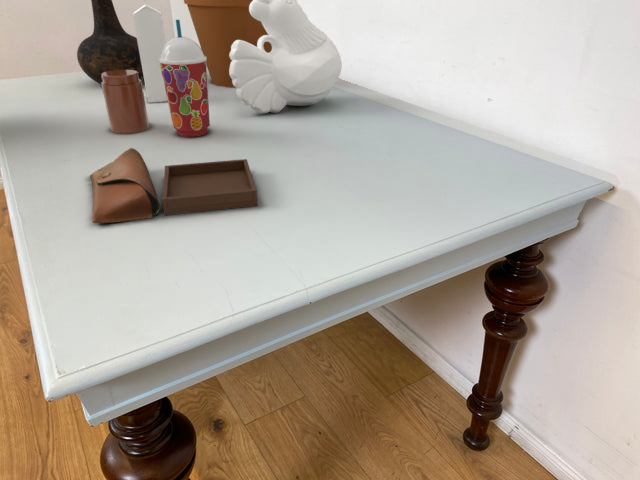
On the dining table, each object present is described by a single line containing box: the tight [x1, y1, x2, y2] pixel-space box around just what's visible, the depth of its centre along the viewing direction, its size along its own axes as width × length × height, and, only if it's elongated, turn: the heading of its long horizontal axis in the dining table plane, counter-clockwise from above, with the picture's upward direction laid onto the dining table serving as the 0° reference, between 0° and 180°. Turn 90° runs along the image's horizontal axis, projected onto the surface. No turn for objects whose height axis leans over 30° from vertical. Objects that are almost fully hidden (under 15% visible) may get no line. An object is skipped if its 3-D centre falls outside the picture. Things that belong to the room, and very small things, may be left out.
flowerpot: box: [183, 0, 272, 88], centre depth 129 cm, size 28×28×24 cm
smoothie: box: [159, 19, 211, 138], centre depth 88 cm, size 8×8×20 cm
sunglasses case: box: [89, 147, 161, 225], centre depth 67 cm, size 18×7×7 cm
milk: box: [132, 0, 168, 104], centre depth 110 cm, size 6×6×22 cm
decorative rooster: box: [229, 0, 343, 115], centre depth 105 cm, size 25×16×25 cm
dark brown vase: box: [76, 0, 144, 85], centre depth 125 cm, size 18×18×28 cm
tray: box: [161, 158, 259, 216], centre depth 68 cm, size 12×12×2 cm
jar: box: [100, 70, 150, 135], centre depth 93 cm, size 7×7×11 cm
